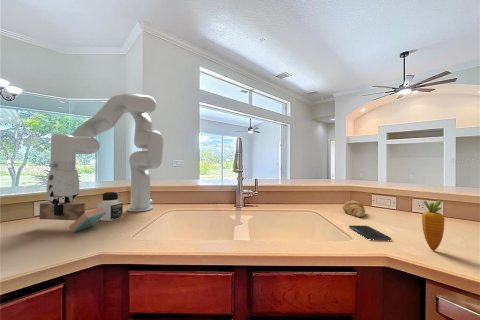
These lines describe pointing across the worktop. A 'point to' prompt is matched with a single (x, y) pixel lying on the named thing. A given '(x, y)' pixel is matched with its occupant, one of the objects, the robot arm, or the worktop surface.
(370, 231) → the phone
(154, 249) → the worktop surface
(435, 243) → the carrot
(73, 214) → the brown wooden block
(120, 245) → the worktop surface
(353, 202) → the croissant
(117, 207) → the medicine bottle
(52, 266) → the worktop surface
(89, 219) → the tile
